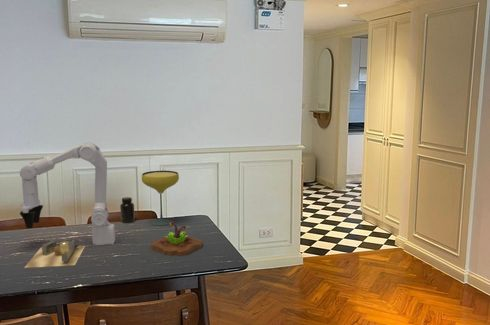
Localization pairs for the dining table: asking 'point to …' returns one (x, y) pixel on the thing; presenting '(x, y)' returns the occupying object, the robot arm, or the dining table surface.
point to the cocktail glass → (160, 187)
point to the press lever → (68, 248)
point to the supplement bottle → (127, 210)
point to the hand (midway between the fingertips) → (32, 225)
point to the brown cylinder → (57, 251)
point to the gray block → (48, 248)
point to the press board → (54, 259)
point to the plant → (176, 243)
